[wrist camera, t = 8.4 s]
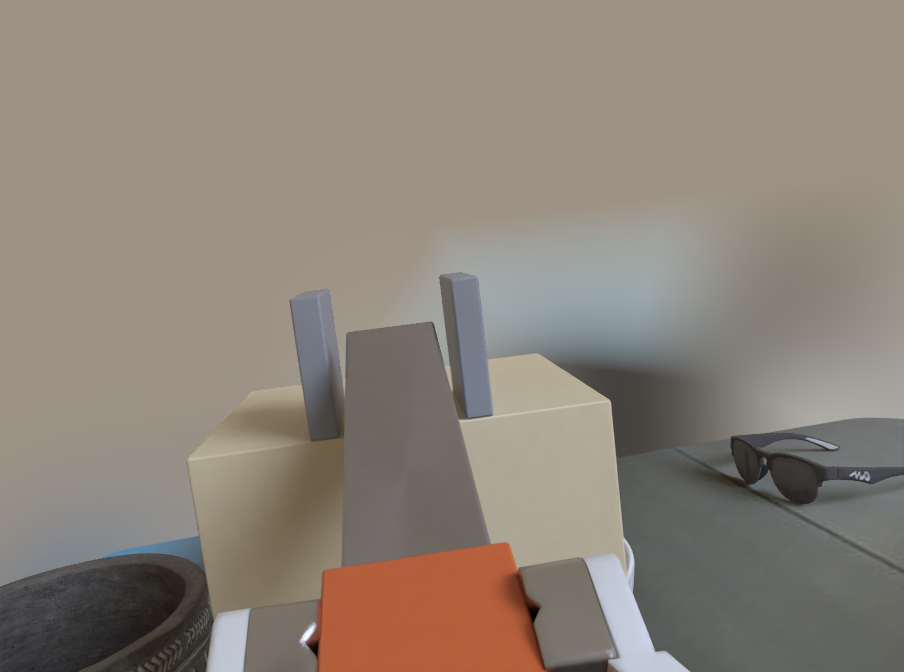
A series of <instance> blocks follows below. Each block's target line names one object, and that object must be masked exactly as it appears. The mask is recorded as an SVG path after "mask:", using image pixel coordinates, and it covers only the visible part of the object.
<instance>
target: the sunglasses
mask: <svg viewBox="0 0 904 672" xmlns="http://www.w3.org/2000/svg"><path fill="white" fill-rule="evenodd" d="M784 439H799V440H805V441H808V442H811V443H814V444H816V445H818V446H820V447H823V448H825V449H827V450H830V451H833V450H837V449H839V448H840V447H839V446H837V445H835V444H832V443H829V442H826V441H823V440H819V439H816V438H813V437H809V436H805V435H800V434H793V433H766V434H751V435H739V436H732V437H731V449H732V456H734V460H735V464H736V467H737V469H738V472H739V474H740V475H741V477H742V478H743V479H744V480H745V481H746V482H747V483H749V484H754V483H756V482H757V481H758V480H760V479H761V478H763V477H764V476H765V475H766V474H767V472H768V469H769V470H770V473H771V476H772V478H773V481H774V483H775V485H776V487H777V488H778V490H779V491H780V492H781V493H782V494H783V495H784V496H785V497H786V498H788V499H789V500H791V501H793V502H796V503H801V504H808V503H811V502H813V501H814V499H815V498H816V497H817V495H818V487H821V486H822V482H823V481H826V480H837V479H838V480H854V481H861V482H865V483H869V484H874V483H876V482H879V481H881V480H884V479H887V478H890V477H894V476H899V475H904V467H826V466H823V465H821V464H818V463H816V462H813V461H811V460H808V459H805V458H802V457H799V456H795V455H791V454H785V453H768V452H765V451H762V450H760V449H759V448H758V447H765V446H767V445H769V444H771V443H773V442H776V441H779V440H784ZM757 446H758V447H757ZM763 457H765V458H766V459H767V463H766V464H767V466H766V465H765V464H764V458H763Z"/></svg>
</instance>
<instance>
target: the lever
mask: <svg viewBox="0 0 904 672" xmlns="http://www.w3.org/2000/svg"><path fill="white" fill-rule="evenodd" d="M345 377H346V378H345V423H344V469H343V516H342V563H341V567H339V568H333V569H326V570H324V571H323V573H322V583H321V601H322V624H321V638H320V640H319V643H318V655H317V660H318V663H319V672H547V671H545V667H544V664H543V661H542V657H541V654H540V650H539V647H538V644H537V640H536V637H535V634H534V624H533V621H532V617H531V614H530V611H529V609H528V607H527V606H526V603H525V599H524V596H523V592H522V589H521V585H520V582H519V578H518V575H517V567H516V563H515V560H514V557H513V553H512V550H511V547H510V545H509V543H508V542H502V543H496V544H491V542H490V538H489V534H488V531H487V527H486V523H485V519H484V515H483V511H482V508H481V504H480V500H479V496H478V492H477V488H476V484H475V481H474V477H473V473H472V469H471V465H470V461H469V458H468V454H467V450H466V446H465V442H464V438H463V435H462V431H461V427H460V423H459V419H458V415H457V412H456V408H455V404H454V400H453V396H452V392H451V388H450V385H449V381H448V377H447V373H446V369H445V365H444V362H443V358H442V354H441V350H440V346H439V343H438V339H437V335H436V331H435V327H434V324H433V322H425V323H416V324H409V325H401V326H393V327H386V328H378V329H370V330H362V331H354V332H348V333H347V335H346V376H345Z"/></svg>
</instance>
